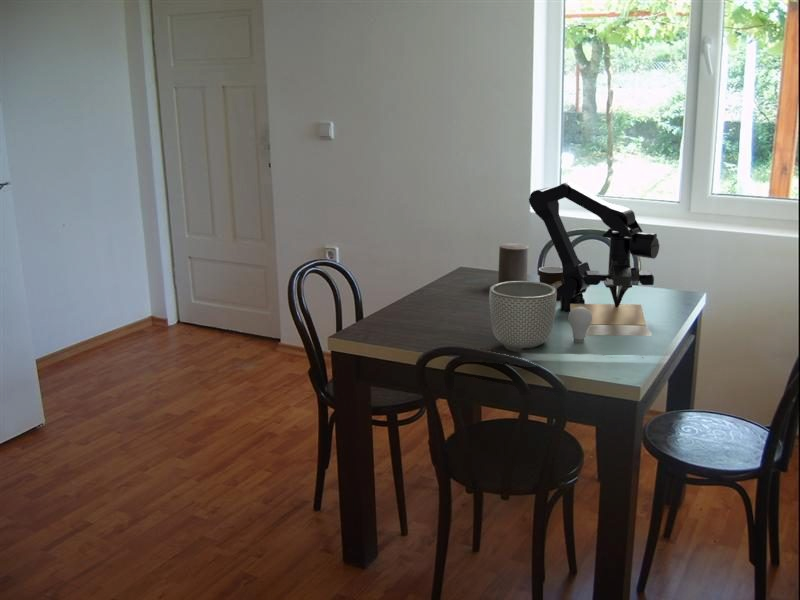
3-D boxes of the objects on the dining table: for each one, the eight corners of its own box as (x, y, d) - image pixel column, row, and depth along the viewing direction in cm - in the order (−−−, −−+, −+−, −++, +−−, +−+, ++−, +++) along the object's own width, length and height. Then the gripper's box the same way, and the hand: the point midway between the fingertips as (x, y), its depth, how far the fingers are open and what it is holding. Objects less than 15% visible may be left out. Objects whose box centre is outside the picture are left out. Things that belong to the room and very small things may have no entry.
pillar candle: (499, 289, 274) (500, 245, 269) (497, 281, 283) (498, 239, 279) (528, 289, 273) (530, 245, 269) (525, 282, 283) (527, 239, 278)
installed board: (576, 339, 222) (576, 334, 222) (572, 329, 231) (572, 324, 230) (652, 341, 220) (652, 335, 220) (645, 330, 229) (646, 325, 228)
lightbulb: (569, 342, 220) (570, 302, 217) (592, 344, 218) (594, 304, 215) (564, 349, 215) (566, 309, 212) (588, 352, 212) (590, 311, 209)
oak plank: (572, 327, 231) (572, 323, 230) (570, 307, 238) (570, 303, 237) (645, 328, 229) (645, 324, 228) (640, 308, 236) (641, 304, 235)
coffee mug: (537, 303, 256) (538, 272, 254) (537, 296, 265) (538, 266, 262) (575, 304, 254) (576, 273, 252) (574, 297, 263) (576, 267, 260)
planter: (485, 356, 210) (486, 296, 206) (490, 335, 226) (491, 279, 222) (554, 360, 207) (556, 298, 203) (554, 338, 223) (556, 281, 219)
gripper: (589, 260, 224) (587, 315, 228) (659, 260, 222) (655, 315, 227) (584, 251, 235) (582, 303, 239) (651, 251, 233) (648, 303, 237)
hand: (616, 306), depth 235 cm, fingers closed, pressing on oak plank
